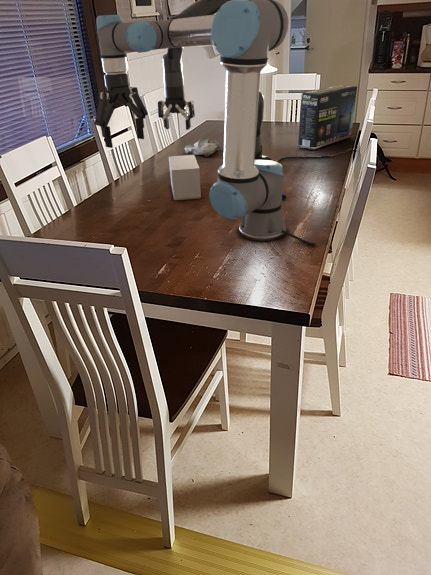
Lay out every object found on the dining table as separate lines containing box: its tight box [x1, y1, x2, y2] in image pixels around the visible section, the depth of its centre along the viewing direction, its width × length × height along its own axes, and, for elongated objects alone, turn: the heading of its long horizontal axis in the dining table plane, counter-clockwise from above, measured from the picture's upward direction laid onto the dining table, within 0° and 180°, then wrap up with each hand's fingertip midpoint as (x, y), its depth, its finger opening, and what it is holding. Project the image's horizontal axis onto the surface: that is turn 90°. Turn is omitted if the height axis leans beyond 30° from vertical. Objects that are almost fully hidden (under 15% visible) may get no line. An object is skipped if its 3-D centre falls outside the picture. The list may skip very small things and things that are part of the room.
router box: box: [297, 84, 358, 151], centre depth 238 cm, size 36×11×27 cm, turn 134°
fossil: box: [184, 137, 221, 157], centre depth 236 cm, size 18×11×15 cm
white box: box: [168, 154, 202, 201], centre depth 184 cm, size 20×10×12 cm, turn 8°
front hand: (125, 142), depth 153 cm, fingers open, 13 cm apart
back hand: (177, 129), depth 180 cm, fingers open, 8 cm apart
